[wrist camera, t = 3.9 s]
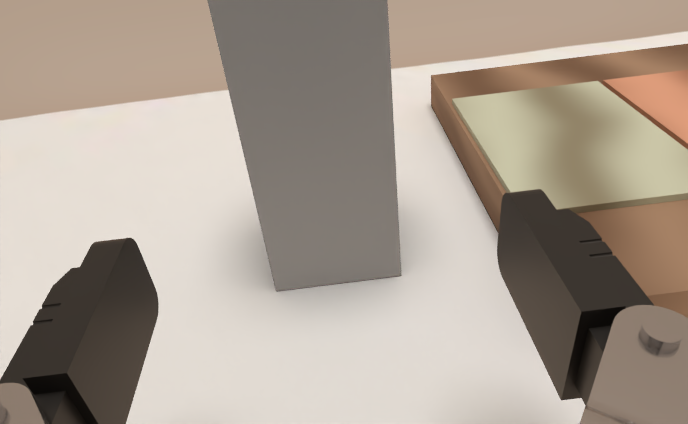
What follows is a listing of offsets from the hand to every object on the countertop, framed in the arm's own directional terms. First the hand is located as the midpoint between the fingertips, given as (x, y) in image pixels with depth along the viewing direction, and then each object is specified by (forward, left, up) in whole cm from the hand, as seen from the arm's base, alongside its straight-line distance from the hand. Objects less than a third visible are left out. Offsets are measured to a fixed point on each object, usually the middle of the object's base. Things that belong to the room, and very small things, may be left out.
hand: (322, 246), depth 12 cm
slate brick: (0, +9, -7) cm, 11 cm away
